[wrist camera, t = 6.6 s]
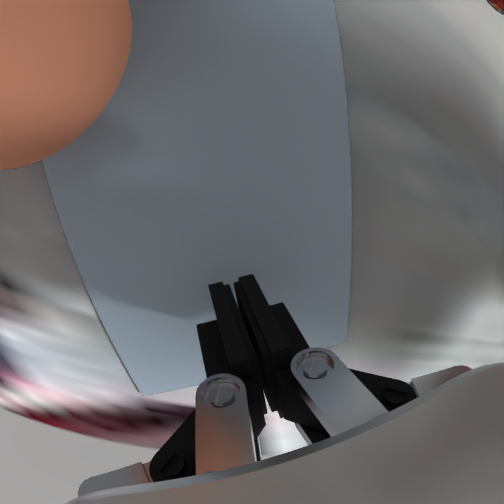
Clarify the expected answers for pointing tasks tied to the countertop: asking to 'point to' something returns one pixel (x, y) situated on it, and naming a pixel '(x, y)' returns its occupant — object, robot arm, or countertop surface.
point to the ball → (57, 72)
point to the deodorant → (497, 5)
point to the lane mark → (213, 179)
